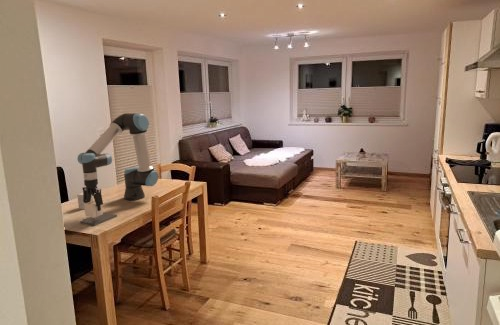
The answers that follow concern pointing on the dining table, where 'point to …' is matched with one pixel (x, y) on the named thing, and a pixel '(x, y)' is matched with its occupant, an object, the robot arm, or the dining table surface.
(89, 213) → the white block
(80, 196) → the small box
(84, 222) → the shaft plate
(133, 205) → the dining table surface
